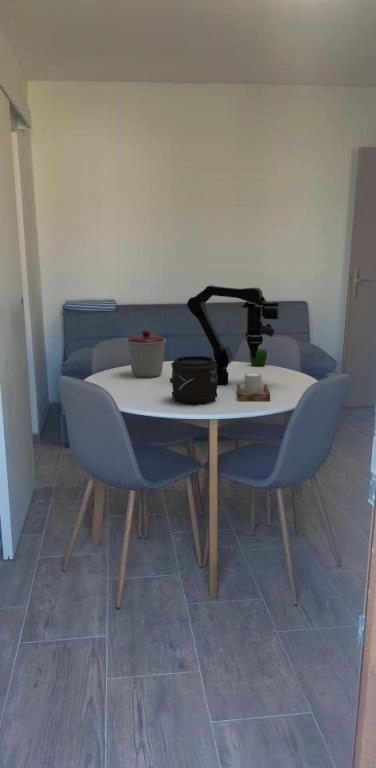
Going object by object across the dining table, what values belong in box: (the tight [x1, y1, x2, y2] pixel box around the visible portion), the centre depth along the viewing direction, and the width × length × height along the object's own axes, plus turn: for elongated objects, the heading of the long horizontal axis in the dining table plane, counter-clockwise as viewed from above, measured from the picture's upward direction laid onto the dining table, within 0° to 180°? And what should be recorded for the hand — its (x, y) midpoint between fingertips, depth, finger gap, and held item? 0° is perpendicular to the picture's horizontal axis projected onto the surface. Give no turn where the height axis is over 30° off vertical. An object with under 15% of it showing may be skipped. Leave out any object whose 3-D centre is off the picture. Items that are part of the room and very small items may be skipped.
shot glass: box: [243, 372, 263, 393], centre depth 231 cm, size 7×7×7 cm
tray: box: [236, 384, 271, 402], centre depth 230 cm, size 12×16×3 cm
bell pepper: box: [249, 346, 268, 367], centre depth 289 cm, size 8×8×10 cm
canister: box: [125, 329, 167, 378], centre depth 267 cm, size 18×18×21 cm
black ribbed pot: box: [169, 355, 218, 406], centre depth 224 cm, size 18×18×16 cm
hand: (253, 356), depth 245 cm, fingers open, 9 cm apart
